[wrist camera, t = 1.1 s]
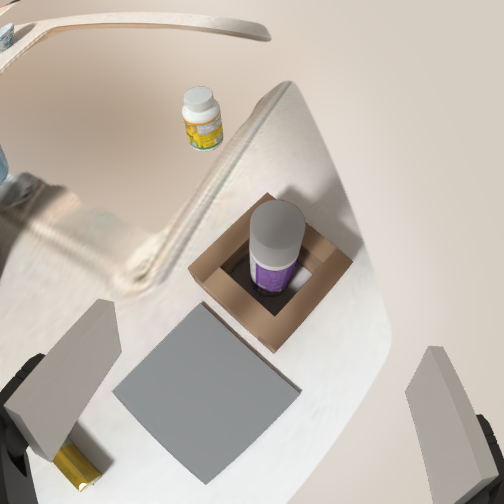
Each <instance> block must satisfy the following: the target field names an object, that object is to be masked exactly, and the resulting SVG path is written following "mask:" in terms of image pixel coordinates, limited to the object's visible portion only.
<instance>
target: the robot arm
mask: <svg viewBox="0 0 504 504" xmlns="http://www.w3.org/2000/svg"><path fill="white" fill-rule="evenodd" d="M7 174H8V163H7V160H6V157H5V154H4V152H3V150H2V148H1V145H0V184H1V183H2V182H3V181H4V180H5V179H6V177H7ZM121 352H122V350H121V345H120V339H119V333H118V327H117V321H116V314H115V307H114V302H111V301H107V300H103V299H98V300H97V301H96V302H95V303H94V304H93V305H92V306H91V307H90V308H89V309H88V310H87V311H86V312H85V313H84V314H83V315H82V317H81V318H80V319H79V320H78V321H77V322H76V323H75V324H74V325H73V326H72V327H71V328H70V329H69V330H68V331H67V333H66V334H65V335H64V336H63V337H62V338H61V339H60V340H59V341H58V342H57V343H56V345H55V346H54V347H53V348H52V349H51V350H50V351H49V352H48V354H47V355H44V354H41V353H39V354H37V355H36V356H34V357H32V358H30V359H29V360H28V361H27V362H26V363H25V364H24V365H23V366H22V368H21V370H19V371H18V372H17V373H16V374H15V377H13V378H12V379H11V380H10V381H9V382H8V384H7V385H6V386H5V387H4V388H3V389H2V391H1V392H0V504H38V501H37V497H36V493H35V489H34V484H33V480H32V475H31V470H30V464H29V459H28V455H27V452H26V449H27V447H28V446H30V447H31V449H32V450H33V451H34V453H35V454H37V455H38V456H40V457H42V458H44V459H46V460H48V461H49V462H52V461H53V459H54V457H55V456H56V454H57V452H58V451H59V449H60V447H61V446H62V444H63V442H64V441H65V439H66V437H67V436H68V434H69V433H70V431H71V429H72V428H73V426H74V425H75V423H76V421H77V420H78V418H79V417H80V415H81V413H82V412H83V410H84V409H85V407H86V406H87V404H88V402H89V401H90V399H91V398H92V396H93V395H94V393H95V392H96V390H97V389H98V387H99V386H100V384H101V382H102V381H103V379H104V378H105V376H106V375H107V373H108V372H109V370H110V369H111V367H112V366H113V364H114V363H115V361H116V360H117V358H118V357H119V355H120V354H121ZM405 393H406V397H407V400H408V404H409V407H410V410H411V414H412V417H413V421H414V424H415V428H416V432H417V435H418V439H419V443H420V447H421V451H422V455H423V459H424V463H425V467H426V471H427V476H428V481H429V485H430V490H431V494H432V500H433V504H504V458H503V456H502V452H501V450H500V448H499V445H498V444H497V440H496V438H495V436H494V435H493V434H494V433H493V431H492V428H491V426H490V424H489V422H488V421H487V420H486V419H485V418H484V417H483V415H481V414H480V415H476V414H475V412H474V410H473V408H472V405H471V403H470V401H469V399H468V396H467V394H466V392H465V390H464V388H463V386H462V384H461V382H460V380H459V377H458V375H457V373H456V371H455V369H454V367H453V365H452V363H451V362H450V359H449V357H448V356H447V354H446V352H445V350H444V348H443V347H437V346H428V348H427V350H426V352H425V354H424V356H423V358H422V361H421V363H420V364H419V366H418V368H417V370H416V372H415V374H414V376H413V378H412V380H411V382H410V384H409V385H408V387H407V389H406V391H405Z"/></svg>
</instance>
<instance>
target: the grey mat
mask: <svg viewBox="0 0 504 504" xmlns="http://www.w3.org/2000/svg"><path fill="white" fill-rule="evenodd" d="M112 392H113V394H114V395H115V396H116V397H117V398H118V399H119V400H120V402H121V403H122V404H123V405H124V406H125V407H126V408H127V410H128V411H129V412H130V413H131V414H132V415H133V416H134V417H135V418H136V419H137V420H138V422H139V423H140V424H141V425H142V426H143V427H144V428H145V429H146V430H147V431H148V432H149V433H150V434H151V435H152V436H153V437H154V438H155V439H156V440H157V441H158V442H159V443H160V444H161V445H162V446H163V447H164V448H165V449H166V450H167V451H168V452H169V453H170V454H171V455H172V456H173V457H175V458H176V459H177V460H178V461H179V462H180V463H181V464H182V465H183V466H184V467H186V468H187V469H188V470H189V471H190V472H191V473H192V474H193V475H195V476H196V477H197V478H198V479H199V480H200V481H202V482H203V483H204V484H205V485H206V484H208V483H209V482H210V481H211V480H212V479H213V478H215V477H216V476H217V475H218V474H219V473H220V472H221V471H223V470H224V469H225V468H226V467H227V466H228V465H229V464H230V463H232V462H233V461H234V460H235V459H236V458H237V457H238V456H239V455H240V454H241V453H242V452H244V451H245V450H246V449H247V448H248V447H249V446H250V445H251V444H252V443H253V442H254V441H255V440H256V439H257V438H258V437H259V436H260V435H261V434H262V433H263V432H264V431H265V430H266V429H267V428H268V427H269V426H270V425H271V424H272V423H273V422H274V421H275V420H276V419H277V418H278V417H279V416H280V415H281V414H282V413H283V412H284V411H285V410H286V409H287V408H288V407H289V406H290V405H291V404H292V403H293V401H294V400H295V399H296V398H297V397H298V396H299V395H300V393H299V392H298V391H297V390H296V389H294V388H293V387H292V386H291V385H290V384H288V383H287V382H286V381H285V380H284V379H283V378H282V377H280V376H279V375H278V374H277V373H276V372H275V371H274V370H272V369H271V368H270V367H269V366H268V365H267V364H266V363H264V362H263V361H262V360H261V359H260V358H259V357H258V356H257V355H256V354H254V353H253V352H252V351H251V350H250V349H249V348H248V347H247V346H246V345H245V344H243V343H242V342H241V341H240V340H239V339H238V338H237V337H236V336H235V335H234V334H233V333H232V332H230V331H229V330H228V329H227V328H226V327H225V326H224V325H223V324H222V323H221V322H220V321H219V320H218V319H217V318H216V317H215V316H214V315H212V314H211V313H210V312H209V311H208V310H207V309H206V308H205V307H204V306H203V305H202V304H201V303H199V304H198V305H197V306H196V307H195V308H194V309H193V310H192V311H191V312H190V313H189V314H188V315H187V316H186V317H185V318H184V319H183V320H182V321H181V322H180V323H179V324H178V325H177V326H176V327H175V328H174V329H173V330H172V331H171V332H170V333H169V334H168V335H167V336H166V337H165V338H164V339H163V340H162V341H161V342H160V343H159V344H158V345H157V346H156V347H155V348H154V349H153V350H152V351H151V353H150V354H149V355H148V356H147V357H146V358H145V359H144V360H143V361H142V362H141V363H140V364H139V365H138V366H137V367H136V368H135V369H134V370H133V371H132V372H131V373H130V374H129V375H128V376H127V377H126V378H125V379H124V380H123V381H122V382H121V383H120V384H119V385H118V386H117V387H116V388H115V389H114V390H113V391H112Z"/></svg>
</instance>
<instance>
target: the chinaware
mask: <svg viewBox="0 0 504 504" xmlns="http://www.w3.org/2000/svg"><path fill="white" fill-rule="evenodd" d="M13 35H14V25H13V23H10V24H8V25H6V26H4V27H2V28H1V29H0V53H2V52H4V51H5V50H6V49H7V48H8V47H9V46H10V45H11V43H10V42H11V40H12V38H13Z"/></svg>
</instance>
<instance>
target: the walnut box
mask: <svg viewBox="0 0 504 504" xmlns="http://www.w3.org/2000/svg"><path fill="white" fill-rule="evenodd" d="M270 200H276V199H275V198H274V197H273V196H271V195H270V194H269V193H266V194H265V195H264V196H263V197H262V198H261V199H260V200H258V201H257V202H256V203H255V204H254V205H253V206H252V207H251V208H250V209H249V210H248V211H247V212H246V213H245V214H243V215H242V216H241V217H240V218H239V219H238V220H237V221H236V222H235V223H234V224H233V225H232V226H231V227H230V228H229V229H228V230H227V231H225V232H224V233H223V234H222V235H221V236H220V237H219V238H218V239H217V240H216V241H215V242H214V243H213V244H212V245H211V246H210V247H209V248H208V249H207V250H206V251H205V252H204V253H203V254H201V255H200V256H199V257H198V258H197V259H196V260H195V261H194V262H193V263H192V264H191V265H190V266H189V267H188V270H189V272H190V273H191V275H192V277H193V278H194V280H195V281H196V282H197V283H198V284H199V285H200V286H201V287H202V288H203V289H204V290H205V291H206V292H207V293H208V294H209V295H210V296H211V297H212V298H213V299H214V300H215V301H217V302H218V303H219V304H220V305H221V306H222V307H223V308H224V309H225V310H226V311H227V312H228V313H229V314H230V315H231V316H233V317H234V318H235V319H236V320H237V321H238V322H239V323H240V324H241V325H242V326H243V327H244V328H246V329H247V330H248V331H249V332H250V333H251V334H252V335H253V336H254V337H255V338H257V339H258V340H259V341H260V342H261V343H262V344H263V345H264V346H266V347H267V348H268V349H269V350H270V351H271V352H272V353H273V354H274V353H275V352H276V351H277V350H278V349H279V348H280V347H281V346H282V344H283V343H284V342H285V341H286V340H287V339H288V338H289V337H290V336H291V335H292V333H293V332H294V331H295V330H296V329H297V328H298V327H299V326H300V324H301V323H302V322H303V321H304V320H305V319H306V318H307V317H308V315H309V314H310V313H311V312H312V311H313V310H314V308H315V307H316V306H317V305H318V304H319V303H320V301H321V300H322V299H323V298H324V297H325V296H326V294H327V293H328V292H329V291H330V290H331V288H332V287H333V286H334V285H335V284H336V282H337V281H338V280H339V279H340V278H341V276H342V275H343V274H344V273H345V271H346V270H347V269H348V268H349V267H350V265H351V264H352V263H353V261H352V260H351V259H350V258H349V257H347V256H346V255H345V254H344V253H343V252H341V251H340V250H339V249H338V248H336V247H335V246H334V245H333V244H332V243H330V242H329V241H328V240H327V239H325V238H324V237H323V236H322V235H321V234H319V233H318V232H317V231H316V230H314V229H313V228H312V227H311V226H309V225H308V224H307V223H306V222H305V232H304V236H303V239H302V243H301V247H300V251H299V255H298V258H297V262H299V263H300V264H301V265H302V266H303V267H305V268H306V269H307V270H308V271H309V272H310V273H312V274H313V275H312V276H311V278H310V279H309V280H308V281H307V282H306V283H305V284H304V285H303V287H302V288H301V289H300V290H299V291H298V292H297V293H296V294H295V295H294V297H293V298H292V299H291V300H290V301H289V302H288V303H287V304H286V305H285V306H284V308H283V309H282V310H281V311H280V312H279V313H278V314H277V315H276V316H275V317H274V316H273V315H272V314H271V313H270V312H269V311H268V310H267V309H265V308H264V307H263V306H262V305H261V304H260V303H259V302H258V301H256V300H255V299H254V298H253V297H252V296H251V295H250V294H249V293H248V292H246V291H245V290H244V289H243V288H242V287H241V286H240V285H239V284H238V283H236V282H235V281H234V280H233V279H232V278H231V277H230V276H229V275H230V274H231V273H232V272H233V271H234V270H235V269H236V268H237V267H238V266H239V265H240V264H241V263H242V262H243V261H244V260H245V259H246V258H247V257H248V256H249V255H250V249H249V246H250V220H251V216H252V214H253V212H254V211H255V209H256V208H257V207H258V206H259V205H261V204H262V203H264V202H267V201H270Z"/></svg>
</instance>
